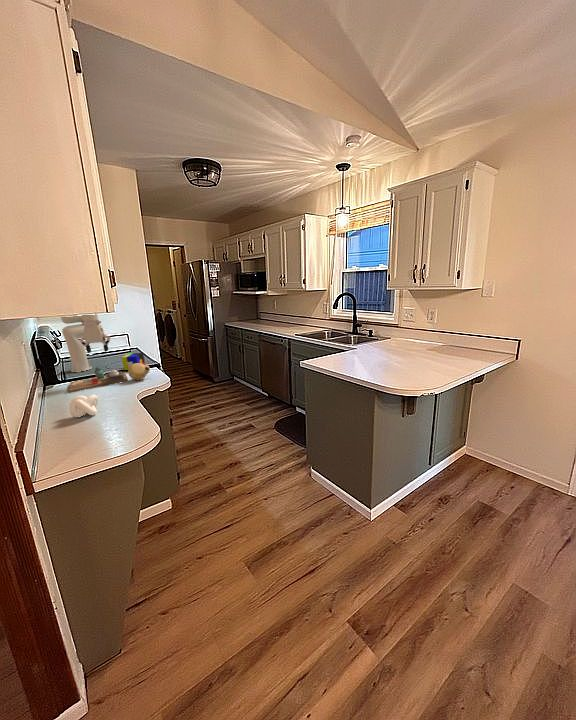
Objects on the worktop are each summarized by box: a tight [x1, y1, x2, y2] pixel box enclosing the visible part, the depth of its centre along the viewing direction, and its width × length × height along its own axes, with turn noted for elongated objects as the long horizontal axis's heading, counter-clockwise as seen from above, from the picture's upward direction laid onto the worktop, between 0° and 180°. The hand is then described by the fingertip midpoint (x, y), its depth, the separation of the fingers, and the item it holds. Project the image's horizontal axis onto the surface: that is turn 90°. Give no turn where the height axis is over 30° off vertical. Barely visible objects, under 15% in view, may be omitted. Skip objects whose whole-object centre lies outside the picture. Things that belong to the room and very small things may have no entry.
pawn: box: [94, 366, 105, 380], centre depth 197 cm, size 4×4×8 cm
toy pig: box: [127, 363, 151, 381], centre depth 195 cm, size 10×12×11 cm
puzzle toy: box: [121, 352, 146, 371], centre depth 219 cm, size 10×10×10 cm
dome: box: [108, 369, 120, 377], centre depth 194 cm, size 6×6×4 cm
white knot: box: [69, 394, 99, 418], centre depth 148 cm, size 11×12×9 cm
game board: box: [68, 370, 129, 394], centre depth 194 cm, size 18×30×5 cm, turn 121°
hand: (98, 351), depth 192 cm, fingers open, 9 cm apart
